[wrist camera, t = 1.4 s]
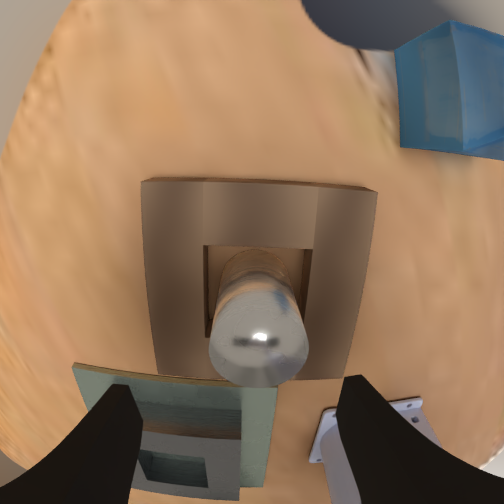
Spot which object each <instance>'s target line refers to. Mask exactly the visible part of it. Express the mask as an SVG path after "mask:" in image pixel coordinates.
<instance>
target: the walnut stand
mask: <svg viewBox="0 0 504 504" xmlns="http://www.w3.org/2000/svg"><path fill="white" fill-rule="evenodd" d="M377 195H378V192H375V191H373V190H370V189H367V188H365V187H356V186H346V185H335V184H323V183H310V182H295V181H279V180H259V179H233V178H150V179H147V180H144V181H141V212H142V234H143V250H144V264H145V276H146V287H147V297H148V306H149V314H150V322H151V330H152V337H153V345H154V351H155V358H156V364H157V370H158V374H163V375H173V376H184V377H196V378H211V379H225V378H224V377H222V376H221V375H220V374H219V373H218V372H217V371H216V369H215V368H214V366H213V365H212V363H211V360H210V357H209V342H210V336H211V331H212V325H213V320H209V318H208V245H215V246H243V247H270V248H296V249H305V254H304V264H303V273H302V282H301V291H300V300H299V312H300V315H301V318H302V322H303V325H304V328H305V332H306V335H307V338H308V343H309V352H308V356H307V359H306V362H305V364H304V365H303V367H302V368H301V369H300V371H299V372H298V373H297V374H296V375H294V376H293V377H292V378H291V379H289V380H319V379H338V378H342V377H343V374H344V370H345V366H346V363H347V359H348V355H349V351H350V347H351V343H352V339H353V334H354V330H355V326H356V321H357V317H358V312H359V308H360V303H361V298H362V293H363V288H364V282H365V277H366V272H367V266H368V260H369V254H370V248H371V241H372V234H373V227H374V220H375V212H376V204H377Z"/></svg>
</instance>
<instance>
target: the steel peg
mask: <svg viewBox="0 0 504 504" xmlns="http://www.w3.org/2000/svg"><path fill="white" fill-rule="evenodd" d="M308 352H309V343H308V338H307V335H306V332H305V328H304V325H303V322H302V318H301V315H300V312H299V308H298V305H297V302H296V299H295V295H294V292H293V289H292V286H291V282H290V279H289V276H288V273H287V270H286V268H285V266H284V264H283V263H282V261H281V260H280V259H279V258H278V257H276V256H275V255H273V254H272V253H270V252H267V251H263V250H247V251H243V252H241V253H239V254H237V255H235V256H234V257H233V258H231V259H230V260H229V261H228V263H227V264H226V266H225V267H224V270H223V272H222V277H221V282H220V287H219V292H218V298H217V303H216V309H215V314H214V320H213V325H212V331H211V336H210V342H209V357H210V360H211V363H212V365H213V366H214V368H215V369H216V371H217V372H218V373H219V374H220V375H221V376H222V377H224V378H225V379H226V380H228V381H230V382H232V383H234V384H236V385H239V386H243V387H248V388H267V387H272V386H276V385H279V384H281V383H283V382H285V381H287V380H289V379H291V378H292V377H293V376H294V375H296V374H297V373H298V372H299V371H300V369H301V368H302V367H303V365H304V364H305V362H306V359H307V356H308Z"/></svg>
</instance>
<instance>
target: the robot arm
mask: <svg viewBox="0 0 504 504" xmlns="http://www.w3.org/2000/svg"><path fill="white" fill-rule="evenodd" d="M422 403H423V400H422V398H413V399H408V400H402V401H396V402H389V403H388V402H387V401H386V400H385V399H384V398H383V397H382V396H381V394H380V393H379V392H378V391H377V390H376V389H375V388H374V387H373V386H372V385H371V384H370V383H369V382H368V381H367V380H366V379H365V377H364V376H362V375H354V376H348V377H344V381H343V385H342V390H341V394H340V398H339V402H338V405H337V408H336V409H327V410H325V411H324V412H323V414H322V418H321V421H320V424H319V428H318V431H317V434H316V437H315V440H314V444H313V447H312V450H311V453H310V456H309V462H310V463H320V462H323V464H324V469H325V474H326V479H327V483H328V488H329V493H330V498H331V503H332V504H504V478H501V477H498V476H495V475H492V474H490V473H487V472H485V471H483V470H480V469H478V468H476V467H474V466H472V465H470V464H468V463H466V462H464V461H462V460H460V459H459V458H457V457H455V456H453V455H452V454H450V453H448V452H447V451H445V450H444V449H443V448H442V446H441V444H440V442H439V440H438V439H437V437H436V435H435V433H434V431H433V429H432V428H431V426H430V424H429V422H428V420H427V418H426V417H425V415H424V413H423V411H422V410H421V408H420V407H421V405H422ZM142 430H143V419H142V416H141V414H140V412H139V409H138V407H137V405H136V402H135V400H134V397H133V395H132V392H131V390H130V387H129V385H124V384H112V385H111V386H110V387H109V388H108V389H107V390H106V392H105V393H104V394H103V395H102V396H101V398H100V399H99V400H98V401H97V402H96V404H95V405H94V406H93V407H92V408H91V410H90V411H89V412H88V413H87V414H86V415H85V417H84V418H83V419H82V420H81V421H80V422H79V423H78V425H77V426H76V427H75V428H74V429H73V430H72V431H71V432H70V433H69V434H68V435H67V436H66V437H65V439H64V440H63V441H62V442H61V443H60V444H59V445H58V446H57V447H56V448H55V449H53V450H52V451H51V452H50V453H49V454H48V455H47V456H46V457H44V458H43V459H42V460H41V461H40V462H38V463H37V464H36V465H35V466H33V467H32V468H31V469H29V470H28V471H26V472H25V473H24V474H22V475H21V476H19V477H18V478H16V479H14V480H13V481H11V482H9V483H8V484H6V485H4V486H2V487H0V504H128V499H129V494H130V489H131V485H132V481H133V476H134V472H135V468H136V464H137V459H138V455H139V451H140V447H141V439H142Z"/></svg>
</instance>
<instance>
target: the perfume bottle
mask: <svg viewBox="0 0 504 504" xmlns="http://www.w3.org/2000/svg"><path fill="white" fill-rule="evenodd" d="M394 53H395V62H396V72H397V83H398V97H399V116H400V147H404V148H414V149H424V150H432V151H440V152H448V153H455V154H462V155H469V156H475V157H483V158H490V159H496V160H503V161H504V36H503V35H500V34H497V33H494V32H491V31H488V30H485V29H482V28H478V27H475V26H472V25H468V24H464V23H461V22H457V21H453V20H448V21H446V22H445V23H442V24H440V25H439V26H437V27H435V28H433V29H431V30H429V31H427V32H425V33H424V34H422V35H420V36H418V37H416V38H415V39H413V40H411V41H409V42H407V43H406V44H404V45H402V46H401V47H399V48H397V49H395V50H394Z"/></svg>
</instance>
